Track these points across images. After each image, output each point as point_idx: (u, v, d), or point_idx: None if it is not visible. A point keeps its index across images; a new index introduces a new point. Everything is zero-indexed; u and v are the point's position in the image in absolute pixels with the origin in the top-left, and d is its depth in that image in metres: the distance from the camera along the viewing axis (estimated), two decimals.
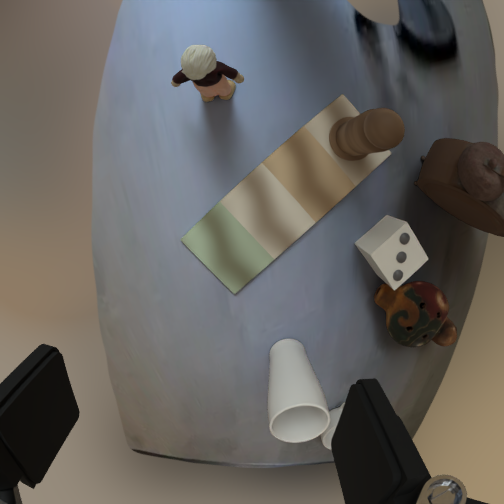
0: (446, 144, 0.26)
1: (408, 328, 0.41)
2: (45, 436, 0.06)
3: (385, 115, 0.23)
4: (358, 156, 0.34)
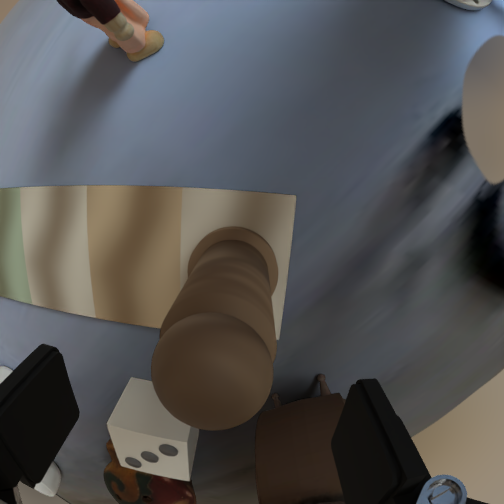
0: None
1: None
2: (45, 436, 0.06)
3: (212, 378, 0.07)
4: None
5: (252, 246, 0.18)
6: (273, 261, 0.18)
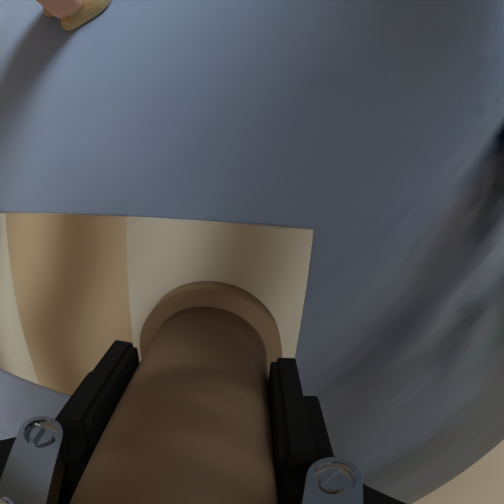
0: None
1: None
2: None
3: None
4: None
5: (239, 318, 0.10)
6: (274, 339, 0.11)
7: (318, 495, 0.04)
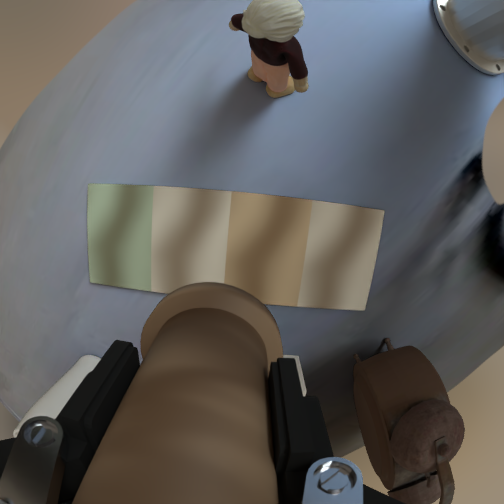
0: (424, 369, 0.20)
1: None
2: None
3: None
4: None
5: (240, 320, 0.10)
6: (275, 340, 0.11)
7: (318, 495, 0.04)
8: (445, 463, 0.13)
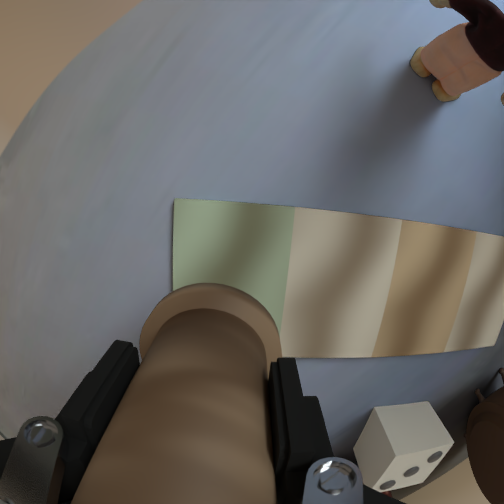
0: None
1: None
2: None
3: None
4: None
5: (239, 320, 0.10)
6: (274, 341, 0.11)
7: (318, 495, 0.04)
8: None
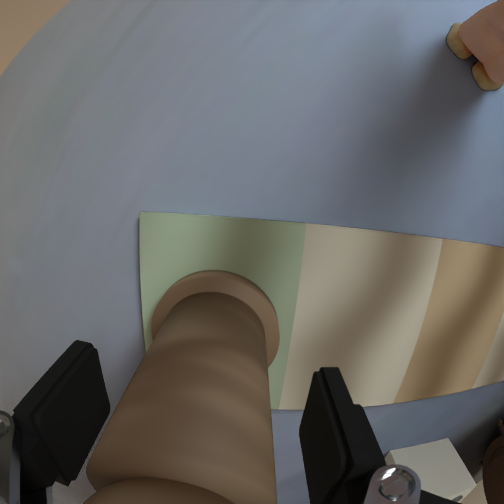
0: None
1: None
2: (81, 432, 0.07)
3: None
4: None
5: (241, 302, 0.12)
6: (272, 321, 0.12)
7: (378, 500, 0.04)
8: None
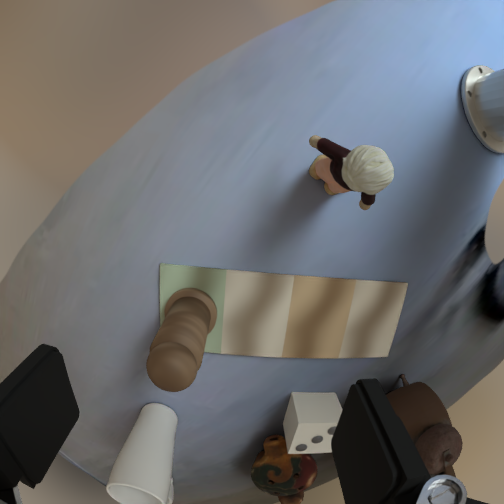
0: (433, 401, 0.26)
1: None
2: (45, 436, 0.06)
3: (169, 367, 0.20)
4: None
5: (200, 300, 0.30)
6: (213, 309, 0.31)
7: None
8: (450, 466, 0.18)
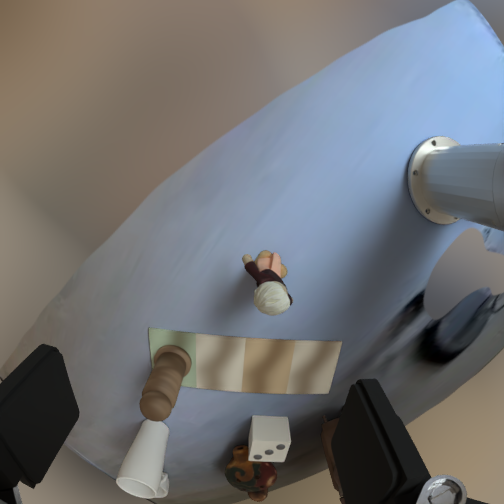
0: None
1: None
2: (45, 436, 0.06)
3: (152, 409, 0.30)
4: None
5: (178, 355, 0.40)
6: (187, 360, 0.41)
7: None
8: None
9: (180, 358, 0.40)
